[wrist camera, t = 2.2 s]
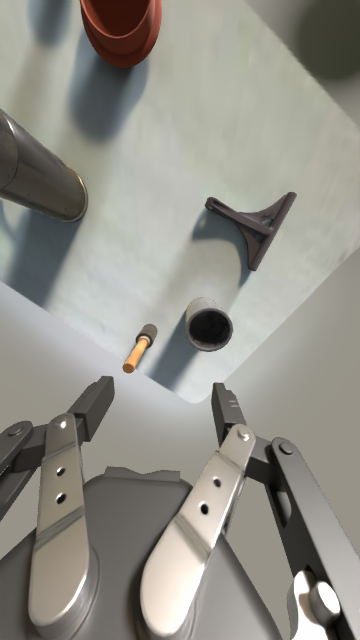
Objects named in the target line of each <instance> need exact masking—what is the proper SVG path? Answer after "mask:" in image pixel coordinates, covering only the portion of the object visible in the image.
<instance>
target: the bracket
mask: <svg viewBox="0 0 360 640" xmlns="http://www.w3.org/2000/svg"><path fill="white" fill-rule="evenodd" d="M296 196H297V195H296V193H294V192H289V193H288V194H287V195H284V196H283V197H282V198H281V199H280V200H279V201H277V202H276V203H275V204H274V205H272V206H270V207H269V208H267V209H265V210H262V211H259V212H254V213H243V212H236V211H234V210H233V209H231V208H230V207H228V206H226V205H225V204H223V203H222V202H220V201H219V200H218V199H216V198H213V197H209V198H208V199H207V202H206V204H205V207H206V208H207V209H208V210H210V211H212V212H214V213H216V214H218V215H220V216H222V217H224V218H226V219H228V220H230V221H232V222H234V223H235V224H236V225H237V226H238V228H239V229H240V230H241V231H242V233H243V235H244V236H245V239H246V242H247V246H248V265H249V269H251V270H253V271H256V270H257V268H258V266H259V264H260V262H261V260H262V259H263V257H264V255H265V253H266V251H267V249H268V247H269V246H270V244H271V242H272V240H273V238H274V236H275V235H276V233H277V231H278V229H279V227H280V225H281V224H282V222H283V220H284V218H285V216H286V214H287V213H288V211H289V209H290V207H291V205H292V203H293V202H294V200H295V198H296ZM255 215H256V216H255ZM267 219H272V220H273V222H272V224H271V226H270V228H269V227H267V226H264V225H262V222H264V221H265V220H267ZM246 233H247V234H246ZM256 234H259V235H261V236H263V237H264V239H263V241H262V243H261V245H260V244H258V242H257V240H256Z"/></svg>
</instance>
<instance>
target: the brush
mask: <svg viewBox="0 0 360 640" xmlns="http://www.w3.org/2000/svg"><path fill="white" fill-rule="evenodd" d="M156 335H157V328H156V327H155V326H154V325H152V324H147V325H145V326H144V327H143V329H142V330H141V332H140V333H139V334H138V336H137V337H136V343H137V345H136V347H135V348H134V350H133V351H132V353H131V354H130V356H129V357H128V359H127V360H126V362H125V363H124V365H123V370H124V372H126V373H132V372H133V371H134V369H135V367H136V365H137V363H138V362H139V360H140V358H141V356H142V354H143V352H144V350H145V349H147V348H149V347H151V346H152V344H153V341H154V339H155V337H156Z"/></svg>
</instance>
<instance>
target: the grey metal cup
mask: <svg viewBox="0 0 360 640" xmlns="http://www.w3.org/2000/svg"><path fill="white" fill-rule="evenodd" d="M185 332H186V337H187V339H188V341H189V343H190V344H191V345H192V346H193V347H194V348H196V349H198V350H200V351H205V352H212V351H217V350H219V349H221V348H223V347H224V346H225V345H226V344H227V343H228V342H229V340H230V339H231V336H232V332H233V326H232V322H231V320H230V318H229V316H228V315H227V314H226V313H225V312H224V311H223V310H222V308H221V307H220V306H219V305H218V304H217V303H216V302H215V301H214V300H212V299H210V298H207V297H200V298H197V299H195V300H193V301H192V302H191V303H190V304H189V305H188V307H187V310H186V325H185Z"/></svg>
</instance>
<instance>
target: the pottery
mask: <svg viewBox="0 0 360 640" xmlns="http://www.w3.org/2000/svg"><path fill="white" fill-rule="evenodd" d="M80 4H81V14H82V20H83V24H84V28H85V31H86V34H87V36H88V38H89V40H90V42H91V44H92V46H93V48H94V49H95V50H96V52H97V53H98V54H99V55H100V56H101V57H102V58H103V59H104V60H105V61H106V62H108V63H110V64H111V65H114V66H117V67H123V68H125V67H131V66H134V65H136V64H138V63H140V62H141V61H142V60H144V59H145V58H146V57H147V55H148V54H149V53H150V51H151V50H152V48H153V46H154V44H155V42H156V40H157V37H158V34H159V30H160V24H161V15H162V5H161V0H80Z"/></svg>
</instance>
